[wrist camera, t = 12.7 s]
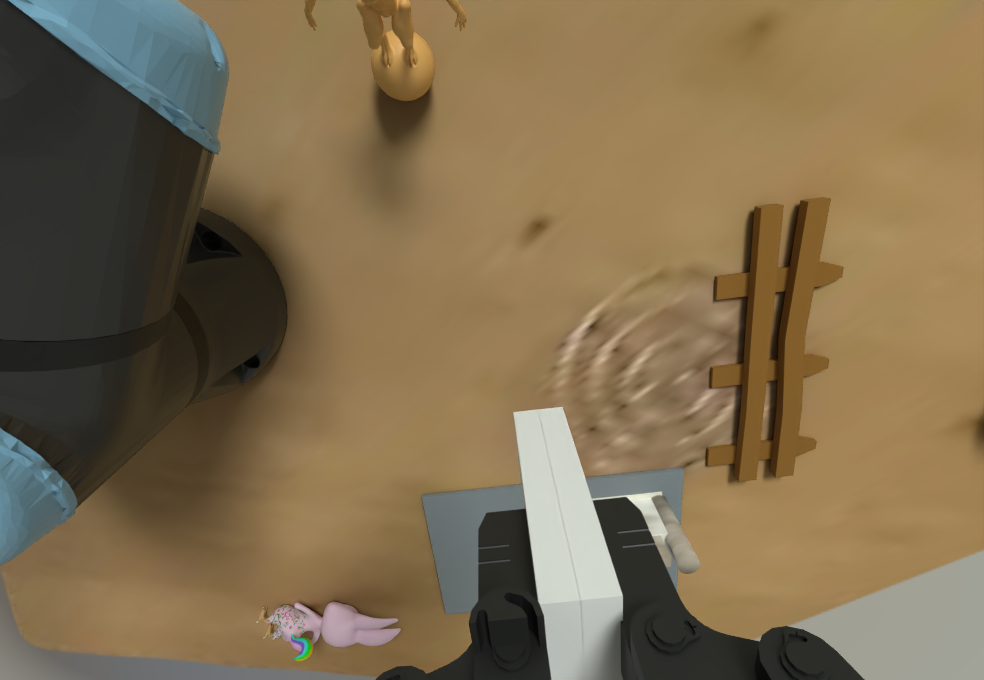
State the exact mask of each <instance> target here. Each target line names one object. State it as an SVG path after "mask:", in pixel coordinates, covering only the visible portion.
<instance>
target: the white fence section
mask: <svg viewBox="0 0 984 680" xmlns="http://www.w3.org/2000/svg"><path fill="white" fill-rule="evenodd" d="M630 501H631V502H632V503H633V504H634V505H635V506H637V507H638V508H639V509H640V510H641V512H642V514H643V516H644V519H645V521H646V523H647V525H648V528H649V531H650V532H651V534H652V537H653V539H654V541H655V545H656V546H657V548H658V550H659V552H660V555H661V557H662V559H663V561H664V564H665V566H666V567H671V556H670V554H669V551H668V549H667V547H666V545H665V544H667V545H668V547H669V549H670V552H671V554H672V556H673V558H674V560H675V562H676V564H677V566H678V569H679V570H680V571H681V572H682V573H685V574H689V573H693V572H695V571H697V570H698V569H699V567H700V561H699V559H698V558H697V556H696V554H695V552H694V550H693V548H692V546H691V544H690V543H689V541H688V539H687V537H686V535H685V533H684V531H683V529H682V527H681V526H680V524H679V522H678V520H677V518H676V516H675V514H674V512H673V510H672V509H671V507H670V505H669V503H668V501H667V499H666V497H665V496H663V495H656V496H654V497H652V498H649V499H640V500H630Z"/></svg>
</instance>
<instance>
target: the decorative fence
mask: <svg viewBox="0 0 984 680" xmlns="http://www.w3.org/2000/svg"><path fill="white" fill-rule="evenodd" d="M830 201H831V199H830V198H823V197H822V198H814V199H807V200H801V201H800V207H799V213H798V220H797V226H796V232H795V238H794V244H793V250H792V256H791V262H790V266H788V267H780V268H778V259H779V249H780V238H781V228H782V218H783V207H784V205H780V204H771V205H763V206H756V207H755V209H754V223H753V237H752V250H751V264H750V272H743V273H736V274H728V275H721V276H715V294H714V299H716V300H721V299H728V298H736V297H744V296H748V305H747V319H746V332H745V347H744V363H737V364H729V365H721V366H714V367H711V375H710V387H711V388H717V387H725V386H733V385H741V384H742V398H741V412H740V421H739V431H738V440H737V444H730V445H722V446H714V447H707V456H706V464H707V466H716V465H724V464H732V463H735V469H734V476H735V478H736V479H737V480H738V482H742V481H750V480H756V477H757V467H758V460H765V459H771V466H770V472H771V473H772V474H773V475H774V476H775V477H784V476H792V475H793V472H794V465H795V457H796V456H798V455H801V454H804V453H806V452H808V451H811V450H813V449H816V442H817V441H816V440H815V439H812V438H807V437H802V436H798V434H799V426H800V418H801V411H802V392H803V377H804V376H811V375H813V374H815V373H818V372H820V371H822V370H824V369H827V368H828V365H829V359H828V358H826V357H821V356H817V355H812V354H806V355H804V351H805V334H806V329H807V323H808V318H809V313H810V307H811V302H812V297H813V291H814V287H819V286H824V285H826V284H828V283H830V282H833V281H835V280H837V279H839V278H841V277H842V274H843V268H844V267H841V266H838V265H834V264H829V263H825V262H819V260H820V254H821V249H822V244H823V238H824V233H825V228H826V222H827V217H828V212H829V206H830ZM781 291H786V293H785V299H784V305H783V311H782V317H781V324H780V330H779V339H778V358H775V359H769V352H770V342H771V332H772V322H773V311H774V301H775V292H781ZM772 380H777V410H776V419H775V429H774V438H773V439H770V440H762V441H760V439H761V430H762V421H763V411H764V401H765V391H766V381H772Z"/></svg>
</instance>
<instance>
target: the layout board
mask: <svg viewBox="0 0 984 680" xmlns="http://www.w3.org/2000/svg"><path fill="white" fill-rule="evenodd" d="M683 472H684V470H683V468H682V467H680V468H671V469H661V470H652V471H642V472H633V473H623V474H614V475H604V476H595V477H585V479H586V482H587V485H588V489H589V492H590V495H591V498H592V500H600V499H610V498H619V497H627V498H628V499H629V500H640V499H649V498H652V497H654V496H656V495H663V496H665V497H666V499H667V501H668V503H669V505H670V507H671V509H672V510H673V512H674V514H675V516H676V518H677V520H678V522H679V524H680V525H681V507H682V490H683ZM422 502H423V507H424V511H425V516H426V521H427V526H428V531H429V535H430V540H431V545H432V550H433V555H434V560H435V564H436V569H437V574H438V579H439V584H440V588H441V593H442V598H443V603H444V608H445V613H446V614H456V613H466V612H471V611H472V609H473V607H474V606H475V605H476V603H477V602H478V528H479V526H480V524H481V522H482V520H483V519H484V517H485V515H486V513H488V512H498V511H507V510H517V509H524V503H523V495H522V487H521V484H519V485H510V486H500V487H491V488H481V489H472V490H462V491H453V492H443V493H434V494H424V495H422ZM665 545H666V547H667V549H668V551H669V554H670V556H671V567H666V568H667V570H668V573H669V575H670V577H671V580H672V582H673V584H674V586H675V589H676V591H677V579H678V566H677V564H676V562H675V560H674V558H673V556H672V554H671V552H670V549H669V547H668V545H667V544H665Z"/></svg>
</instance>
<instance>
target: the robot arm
mask: <svg viewBox="0 0 984 680" xmlns="http://www.w3.org/2000/svg"><path fill="white" fill-rule="evenodd" d="M228 79H229V66H228V60H227V56H226V53H225V50H224V48H223V46H222V43H221V42H220V40H219V38H218V37H217V35H216V34H215V33H214V31H213V30H212V29H211V27H210V26H209V25H208V24H207V23H206V22H205V21H204V20H203V19H202V18H201V17H199V16H198V15H197V14H196V13H194V12H193V11H192V10H190V9H189V8H187V7H186V6H185V5H183V4H182V3H180V2H179V1H178V0H0V566H1V565H3V564H4V563H6V562H8V561H10V560H12V559H13V558H15V557H16V556H18V555H19V554H20V553H22V552H23V551H24V550H25V549H27V548H28V547H29V546H31V545H32V544H33V543H35V542H36V541H37V540H39V539H40V538H41V537H43V536H44V535H45V534H47V533H48V532H50V531H51V530H52V529H54V528H55V527H56V526H58V525H61V524H62V523H64V522H65V521H66V520H68V519H69V518H70V517H71V516H72V515H73V514H74V513H75V509H76V508H77V507H78V506H79V505H80V504H81V503H82V502H83V501H85V500H86V499H87V498H88V497H89V496H90V495H91V494H92V493H93V492H94V491H95V490H97V489H98V488H99V487H100V486H101V485H102V484H103V483H104V482H105V481H106V480H107V479H108V478H110V477H111V476H112V475H113V474H114V473H115V472H116V471H117V470H118V469H119V468H120V467H121V466H123V465H124V464H125V463H126V462H127V461H128V460H129V459H130V458H131V457H132V456H133V455H135V454H136V453H137V452H138V451H139V450H140V449H141V448H142V447H143V446H144V445H145V444H146V443H148V442H149V441H150V440H151V439H152V438H153V437H154V436H155V435H156V434H157V433H158V432H159V431H161V430H162V429H163V428H164V427H165V426H166V425H167V424H168V423H169V422H170V421H171V420H173V419H174V418H175V417H176V416H177V415H178V414H179V413H180V412H181V411H182V410H183V409H184V408H186V407H187V406H188V405H190V404H193V403H196V402H199V401H202V400H205V399H208V398H211V397H214V396H217V395H220V394H223V393H226V392H229V391H231V390H233V389H236V388H238V387H239V386H241V385H243V384H245V383H246V382H248V381H249V380H250V379H252V378H253V377H254V376H255V375H256V374H257V373H258V372H259V371H260V370H261V369H262V368H263V367H264V366H265V365H266V364H267V363H268V362H269V361H270V360H271V359H272V358H273V356H274V355H275V353H276V352H277V350H278V348H279V347H280V344H281V342H282V340H283V337H284V333H285V329H286V323H287V306H286V299H285V294H284V290H283V287H282V284H281V281H280V279H279V276H278V274H277V272H276V270H275V268H274V267H273V265H272V263H271V262H270V260H269V259H268V257H267V256H266V254H265V253H264V252H263V251H262V249H261V248H260V247H259V246H258V245H257V244H256V243H255V242H254V241H253V240H252V239H251V238H250V237H249V236H248V235H247V234H246V233H245V232H243V231H242V230H241V229H240V228H238V227H237V226H236V225H234V224H233V223H231V222H230V221H228V220H226V219H225V218H223V217H221V216H219V215H217V214H215V213H213V212H210V211H208V210H205V209H202V208H200V207H201V203H202V200H203V196H204V192H205V188H206V184H207V181H208V177H209V173H210V169H211V165H212V162H213V158H214V154H219V152H220V148H221V147H220V142H219V140H218V138H217V135H218V130H219V125H220V120H221V115H222V110H223V105H224V100H225V94H226V89H227V84H228ZM514 421H515V430H516V440H517V449H518V459H519V468H520V478H521V487H522V495H523V503H524V509H517V510H507V511H498V512H488V513H486V515H485V517H484V519H483V520H482V522H481V524H480V526H479V528H478V602H477V603H476V605H475V606H474V607H473V609H472V611H471V616H470V620H469V628H470V633H471V638H472V643H471V645H470V646H469V648H468V649H467V651H465V652H464V653H463V654H462V655H461V656H460V657H459V658H458V659H456V660H455V661H453V662H451V663H450V664H448V665H446V666H444V667H441V668H439V669H437V670H435V671H433V672H431V673H428V674H426V673H425V672H424V671H423V670H420V669H418V668H415V667H413V666H399V667H395V668H393V669H391V670H388V671H386V672H384V673H382V674H381V675H380V676H379V677H378V678H377V679H376V680H864V679H863V678H862V677H861V676H860V675H859V674H858V673H857V672H856V671H855V670H854V669H853V668H852V666H851V665H850V664H849V663H848V662H847V661H846V660H845V659H844V658H843V657H842V656H841V655H840V654H839V653H838V652H837V651H836V650H834V649H833V648H832V647H831V646H830V645H828V644H827V643H826V642H825V641H823V640H822V639H821V638H819V637H817V636H815V635H813V634H811V633H809V632H807V631H805V630H803V629H797V628H793V627H788V626H784V627H777V628H772V629H770V630H769V631H767V632H766V633H765V634H763V635H762V637H761V640H760V642H759V641H754V640H750V639H745V638H740V637H735V636H731V635H727V634H723V633H720V632H717V631H714V630H712V629H711V628H709V627H707V626H705V625H703V624H702V623H701V622H699V621H698V620H697V619H696V618H695V617H694V616H692V615H691V614H690V613H689V612H688V611H687V609H686V608H685V606H684V605H683V603H682V601H681V600H680V598H679V595H678V593H677V591H676V589H675V586H674V584H673V582H672V580H671V577H670V575H669V573H668V570H667V568H666V566H665V564H664V561H663V559H662V557H661V555H660V552H659V550H658V548H657V546H656V545H655V541H654V539H653V537H652V534H651V532H650V531H649V528H648V525H647V523H646V521H645V519H644V516H643V514H642V512H641V510H640V509H639V508H638V507H637V506H635V505H634V504H633V503H632V502H631V501H630V500H629V499H628V498H627V497H619V498H610V499H600V500H592V498H591V495H590V492H589V489H588V485H587V482H586V479H585V476H584V473H583V470H582V467H581V464H580V460H579V457H578V454H577V451H576V448H575V445H574V442H573V439H572V435H571V432H570V429H569V426H568V423H567V420H566V417H565V414H564V410H563V407H558V408H548V409H539V410H530V411H521V412H514Z"/></svg>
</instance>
